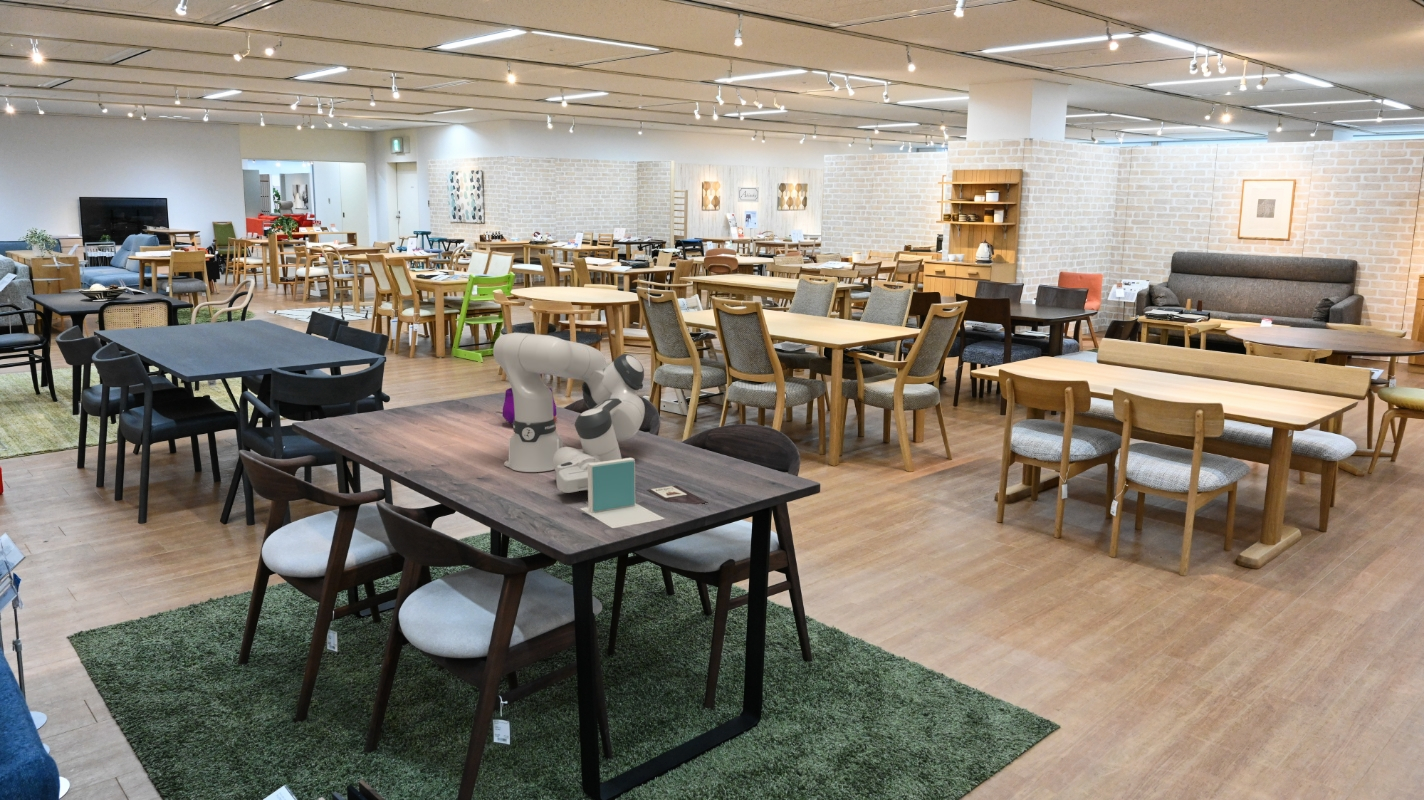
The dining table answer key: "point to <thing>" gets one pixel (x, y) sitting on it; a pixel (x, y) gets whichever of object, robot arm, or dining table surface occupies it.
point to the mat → (624, 516)
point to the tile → (611, 484)
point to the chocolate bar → (676, 495)
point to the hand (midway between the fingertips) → (609, 485)
